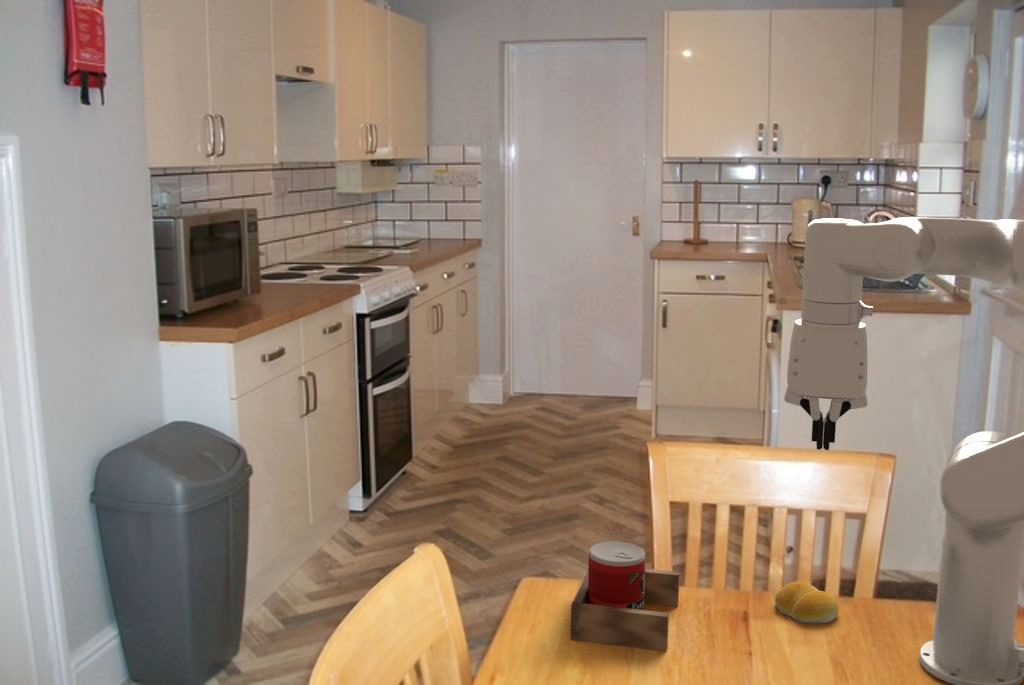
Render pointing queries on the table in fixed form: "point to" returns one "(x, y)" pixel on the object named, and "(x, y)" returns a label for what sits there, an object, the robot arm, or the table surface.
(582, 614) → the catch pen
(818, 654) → the table surface
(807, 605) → the bread roll
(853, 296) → the robot arm
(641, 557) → the canned food
